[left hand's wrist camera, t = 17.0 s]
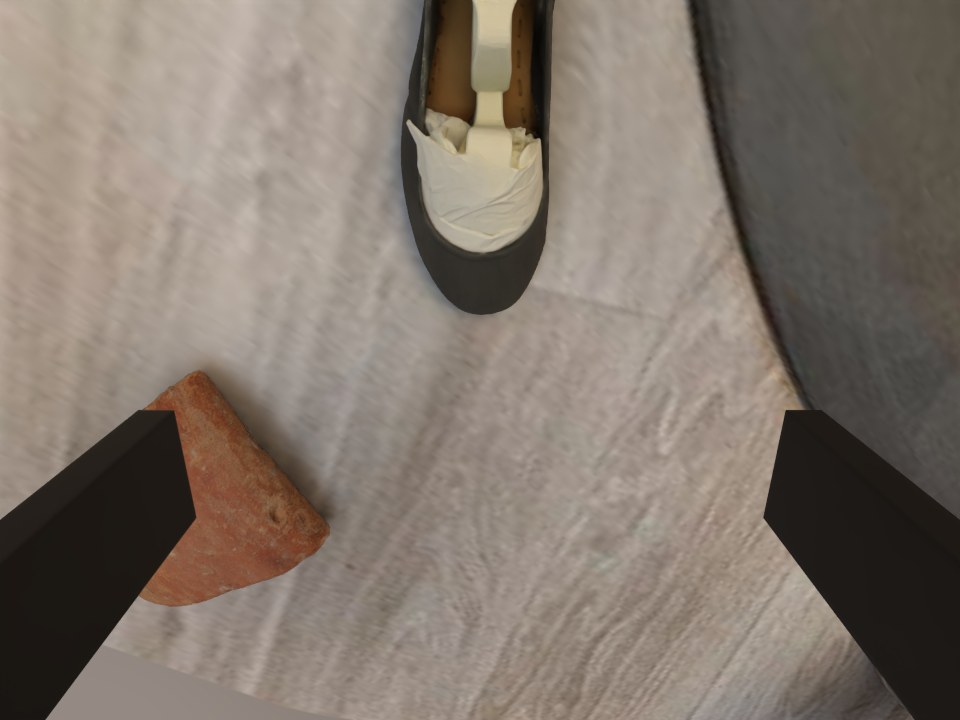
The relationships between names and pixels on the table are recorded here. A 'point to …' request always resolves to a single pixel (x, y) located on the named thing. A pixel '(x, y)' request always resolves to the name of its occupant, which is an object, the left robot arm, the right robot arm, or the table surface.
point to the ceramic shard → (229, 505)
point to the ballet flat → (479, 147)
